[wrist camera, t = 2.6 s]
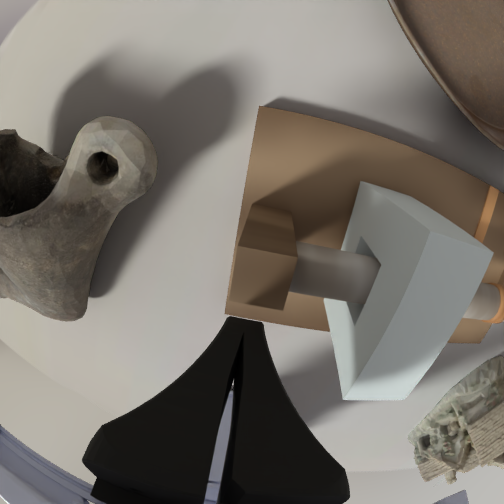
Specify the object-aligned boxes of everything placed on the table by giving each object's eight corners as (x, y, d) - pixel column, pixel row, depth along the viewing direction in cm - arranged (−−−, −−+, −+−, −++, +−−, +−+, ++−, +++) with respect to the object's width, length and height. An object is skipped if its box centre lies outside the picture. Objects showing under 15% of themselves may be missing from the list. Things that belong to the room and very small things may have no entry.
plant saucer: (519, -7, 4) (538, -12, 1) (546, 171, 11) (570, 180, 8) (340, -86, 5) (346, -108, 2) (375, 126, 13) (397, 127, 10)
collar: (369, 307, 15) (404, 399, 9) (323, 300, 15) (342, 399, 9) (410, 196, 12) (493, 252, 6) (360, 180, 12) (430, 230, 6)
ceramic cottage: (514, 340, 18) (560, 446, 4) (497, 399, 23) (519, 475, 10) (396, 403, 23) (411, 528, 10) (410, 441, 29) (419, 523, 16)
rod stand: (475, 336, 18) (505, 384, 12) (227, 304, 18) (206, 379, 12) (531, 212, 12) (582, 244, 7) (260, 107, 13) (247, 89, 7)
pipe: (150, 220, 25) (148, 66, 12) (172, 310, 21) (168, 162, 8) (4, 254, 18) (-68, 138, 6) (3, 343, 15) (-117, 257, 2)
